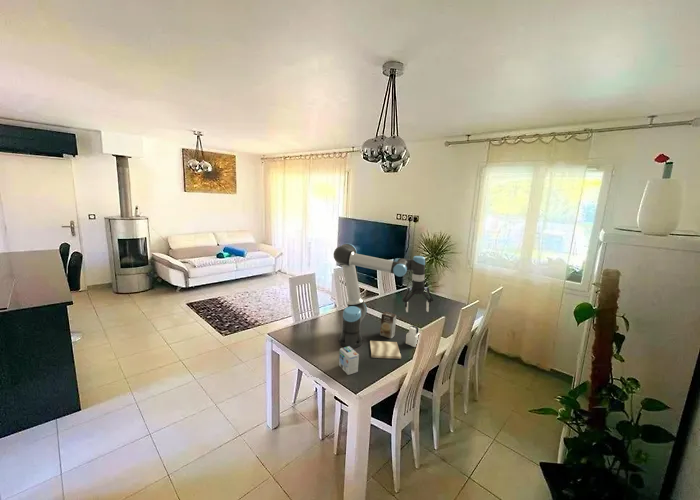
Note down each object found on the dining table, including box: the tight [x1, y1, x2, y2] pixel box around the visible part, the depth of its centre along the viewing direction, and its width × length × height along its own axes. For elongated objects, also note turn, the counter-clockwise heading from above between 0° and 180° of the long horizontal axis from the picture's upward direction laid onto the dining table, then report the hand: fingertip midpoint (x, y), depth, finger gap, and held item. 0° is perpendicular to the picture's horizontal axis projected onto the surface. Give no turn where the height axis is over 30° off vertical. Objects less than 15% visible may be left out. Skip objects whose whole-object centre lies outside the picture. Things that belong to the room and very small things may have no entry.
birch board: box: [369, 340, 402, 360], centre depth 190 cm, size 18×18×2 cm
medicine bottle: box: [405, 325, 420, 348], centre depth 200 cm, size 7×7×12 cm
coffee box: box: [379, 311, 397, 339], centre depth 209 cm, size 9×6×16 cm
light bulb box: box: [338, 346, 360, 376], centre depth 168 cm, size 11×7×11 cm, turn 32°
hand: (417, 311), depth 195 cm, fingers open, 13 cm apart
